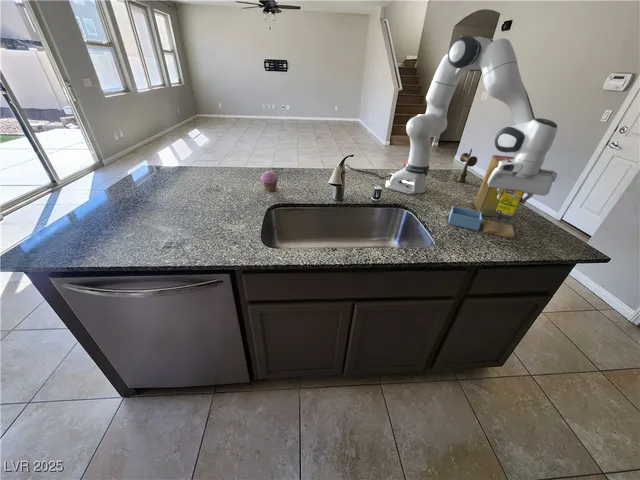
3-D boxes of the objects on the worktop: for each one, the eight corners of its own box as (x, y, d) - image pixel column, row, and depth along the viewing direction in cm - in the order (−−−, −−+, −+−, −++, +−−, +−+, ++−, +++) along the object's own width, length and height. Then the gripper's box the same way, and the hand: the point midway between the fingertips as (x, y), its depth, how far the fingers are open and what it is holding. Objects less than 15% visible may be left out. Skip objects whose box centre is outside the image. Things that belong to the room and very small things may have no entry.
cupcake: (273, 194, 138) (272, 175, 133) (259, 191, 141) (257, 173, 136) (281, 188, 146) (280, 170, 140) (267, 186, 148) (266, 168, 143)
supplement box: (494, 213, 110) (505, 188, 104) (498, 209, 114) (509, 184, 108) (511, 218, 106) (523, 192, 101) (514, 213, 110) (526, 188, 104)
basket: (448, 223, 118) (451, 213, 115) (449, 215, 124) (452, 205, 122) (478, 230, 113) (482, 220, 111) (477, 221, 120) (481, 211, 118)
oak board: (483, 231, 112) (484, 228, 112) (482, 222, 120) (483, 219, 119) (513, 238, 109) (515, 235, 108) (510, 228, 116) (512, 225, 115)
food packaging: (499, 217, 124) (523, 164, 111) (477, 214, 127) (498, 161, 113) (493, 206, 135) (514, 156, 122) (472, 203, 137) (491, 154, 124)
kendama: (460, 184, 162) (471, 150, 151) (452, 178, 170) (462, 146, 159) (469, 184, 162) (481, 150, 151) (461, 178, 170) (472, 146, 159)
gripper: (557, 169, 98) (539, 203, 106) (494, 160, 106) (482, 193, 113) (561, 173, 94) (542, 209, 101) (496, 164, 101) (482, 198, 108)
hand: (510, 200), depth 107 cm, fingers closed on supplement box, 7 cm apart
